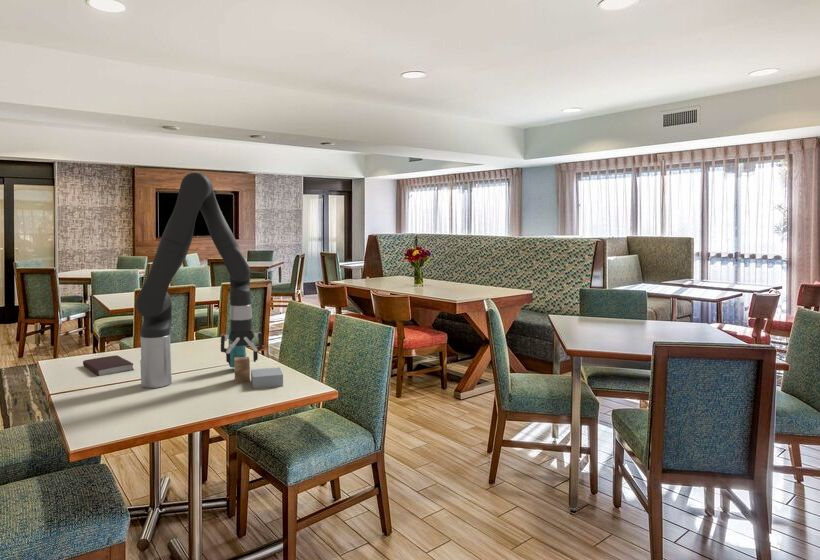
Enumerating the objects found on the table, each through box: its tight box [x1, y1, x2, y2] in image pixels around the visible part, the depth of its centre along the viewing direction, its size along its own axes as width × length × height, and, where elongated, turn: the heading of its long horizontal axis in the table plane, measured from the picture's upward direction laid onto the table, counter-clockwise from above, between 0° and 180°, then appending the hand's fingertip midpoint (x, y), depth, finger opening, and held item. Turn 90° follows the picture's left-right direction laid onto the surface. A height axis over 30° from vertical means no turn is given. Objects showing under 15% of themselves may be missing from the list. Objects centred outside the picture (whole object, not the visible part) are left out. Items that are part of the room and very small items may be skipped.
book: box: [82, 355, 135, 377], centre depth 207 cm, size 12×19×3 cm, turn 45°
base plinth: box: [250, 367, 284, 389], centre depth 190 cm, size 10×10×4 cm
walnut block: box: [233, 356, 251, 384], centre depth 192 cm, size 5×5×8 cm
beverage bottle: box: [227, 327, 247, 369], centre depth 206 cm, size 6×7×20 cm
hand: (242, 362), depth 192 cm, fingers open, 8 cm apart
